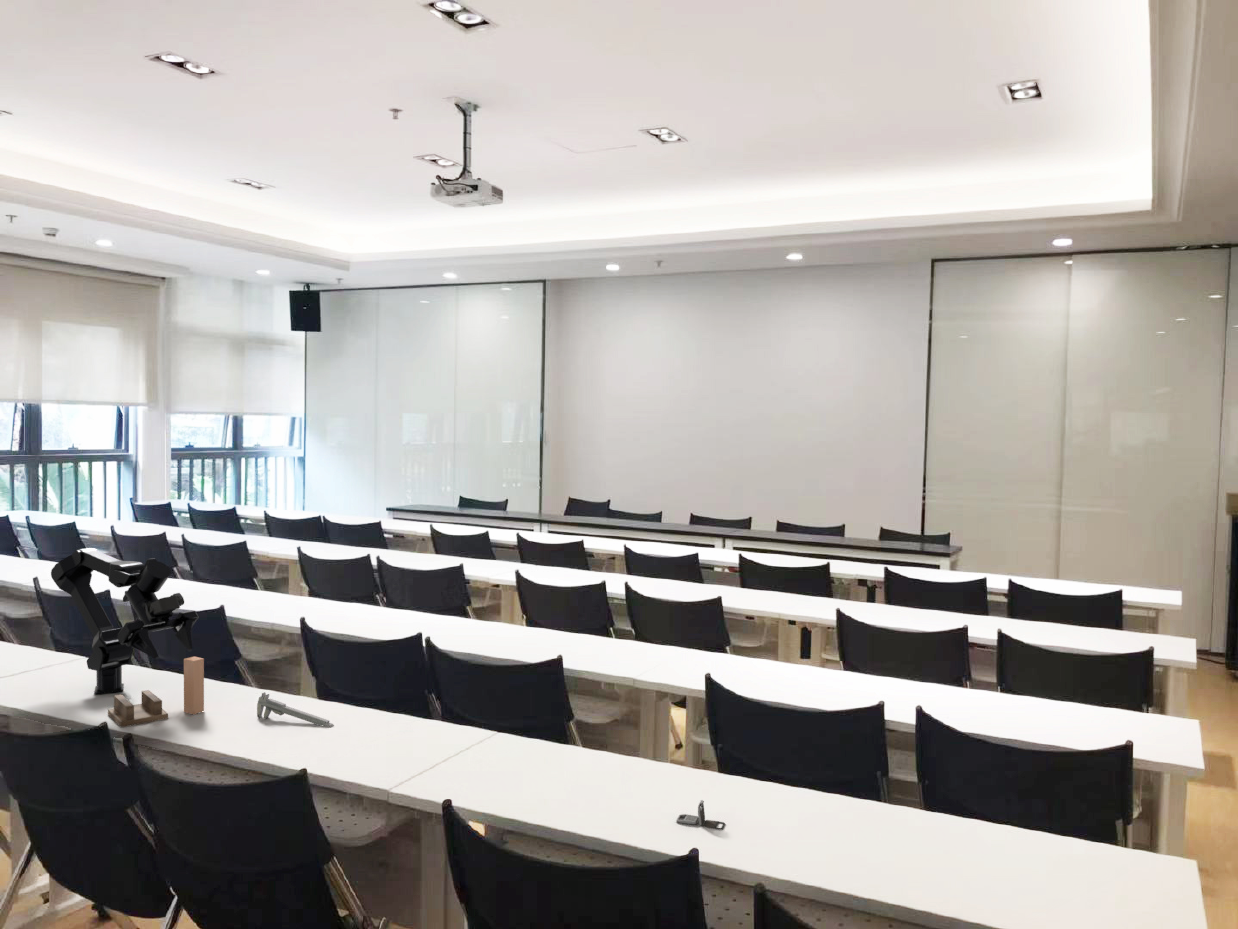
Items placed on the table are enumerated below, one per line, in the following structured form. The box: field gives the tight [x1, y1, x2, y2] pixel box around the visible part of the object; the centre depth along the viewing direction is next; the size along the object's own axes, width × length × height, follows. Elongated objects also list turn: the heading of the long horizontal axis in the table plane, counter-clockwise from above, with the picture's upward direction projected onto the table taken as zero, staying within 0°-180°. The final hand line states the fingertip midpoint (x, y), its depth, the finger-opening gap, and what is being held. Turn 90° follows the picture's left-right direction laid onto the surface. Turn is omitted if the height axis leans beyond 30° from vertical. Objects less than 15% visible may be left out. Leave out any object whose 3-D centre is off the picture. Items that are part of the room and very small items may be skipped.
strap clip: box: [676, 799, 726, 831], centre depth 165 cm, size 8×3×4 cm, turn 73°
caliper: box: [256, 692, 335, 728], centre depth 216 cm, size 20×1×6 cm, turn 73°
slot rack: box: [107, 689, 169, 728], centre depth 218 cm, size 12×10×4 cm
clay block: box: [183, 656, 205, 716], centre depth 222 cm, size 4×3×13 cm
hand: (174, 654), depth 225 cm, fingers open, 9 cm apart
